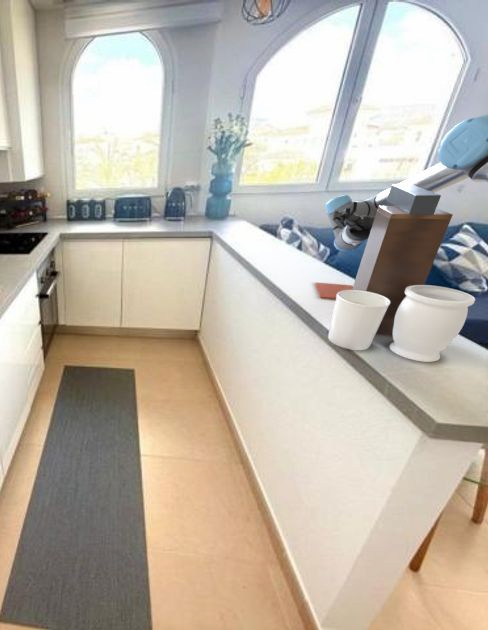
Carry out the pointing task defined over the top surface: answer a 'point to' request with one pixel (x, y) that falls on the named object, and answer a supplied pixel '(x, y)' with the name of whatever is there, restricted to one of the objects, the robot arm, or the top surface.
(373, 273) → the stand
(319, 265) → the top surface
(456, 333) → the jar
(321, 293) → the mat
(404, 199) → the slim box
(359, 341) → the white flower pot
